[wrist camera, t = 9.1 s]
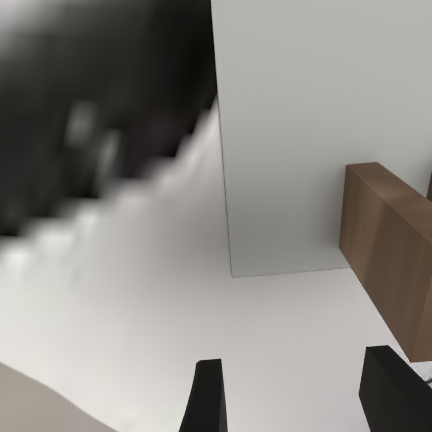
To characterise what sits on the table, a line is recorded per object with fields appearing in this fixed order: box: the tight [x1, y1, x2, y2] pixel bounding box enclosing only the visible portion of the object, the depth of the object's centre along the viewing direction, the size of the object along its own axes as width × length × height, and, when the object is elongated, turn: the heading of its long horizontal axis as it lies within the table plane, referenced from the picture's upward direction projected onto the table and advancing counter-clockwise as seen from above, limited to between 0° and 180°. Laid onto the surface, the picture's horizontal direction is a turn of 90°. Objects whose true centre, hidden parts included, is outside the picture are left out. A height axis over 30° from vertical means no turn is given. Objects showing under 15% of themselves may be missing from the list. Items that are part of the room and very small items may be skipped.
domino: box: [339, 162, 432, 363], centre depth 16 cm, size 2×5×8 cm, turn 5°
